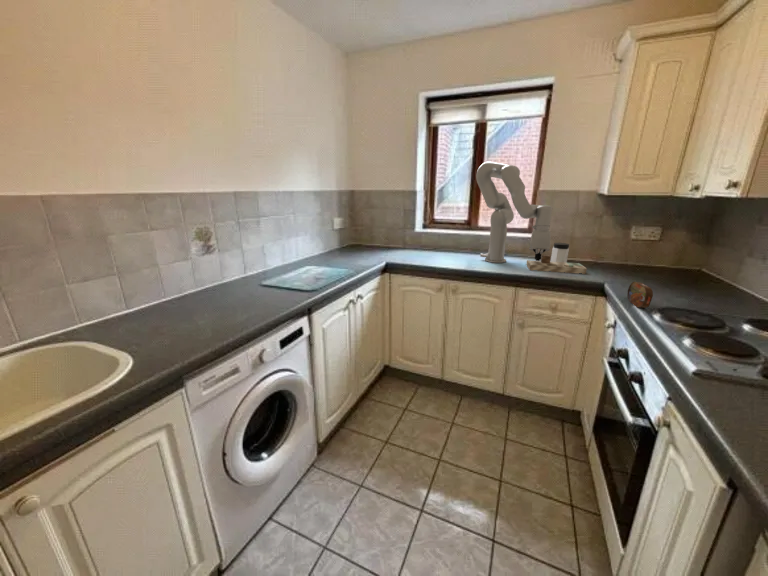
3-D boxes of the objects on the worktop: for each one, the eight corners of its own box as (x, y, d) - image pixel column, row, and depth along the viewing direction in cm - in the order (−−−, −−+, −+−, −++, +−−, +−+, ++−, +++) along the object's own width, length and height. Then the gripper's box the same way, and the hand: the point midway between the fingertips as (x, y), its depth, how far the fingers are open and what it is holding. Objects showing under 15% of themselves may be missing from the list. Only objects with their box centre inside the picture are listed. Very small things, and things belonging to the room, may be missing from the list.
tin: (625, 298, 137) (629, 278, 134) (634, 299, 136) (638, 279, 134) (640, 310, 123) (646, 289, 121) (650, 311, 122) (656, 290, 120)
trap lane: (529, 270, 183) (530, 264, 182) (526, 265, 195) (526, 260, 194) (585, 273, 176) (586, 268, 175) (578, 268, 188) (579, 263, 187)
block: (541, 262, 187) (543, 256, 186) (540, 261, 191) (541, 254, 189) (549, 263, 186) (550, 256, 185) (548, 262, 190) (549, 255, 188)
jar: (562, 265, 195) (566, 245, 192) (548, 263, 201) (551, 243, 197) (568, 263, 201) (571, 243, 198) (554, 261, 207) (557, 242, 203)
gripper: (528, 228, 182) (524, 260, 187) (558, 229, 178) (553, 262, 184) (526, 227, 189) (522, 258, 194) (555, 227, 185) (550, 259, 191)
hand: (537, 260), depth 189 cm, fingers closed
